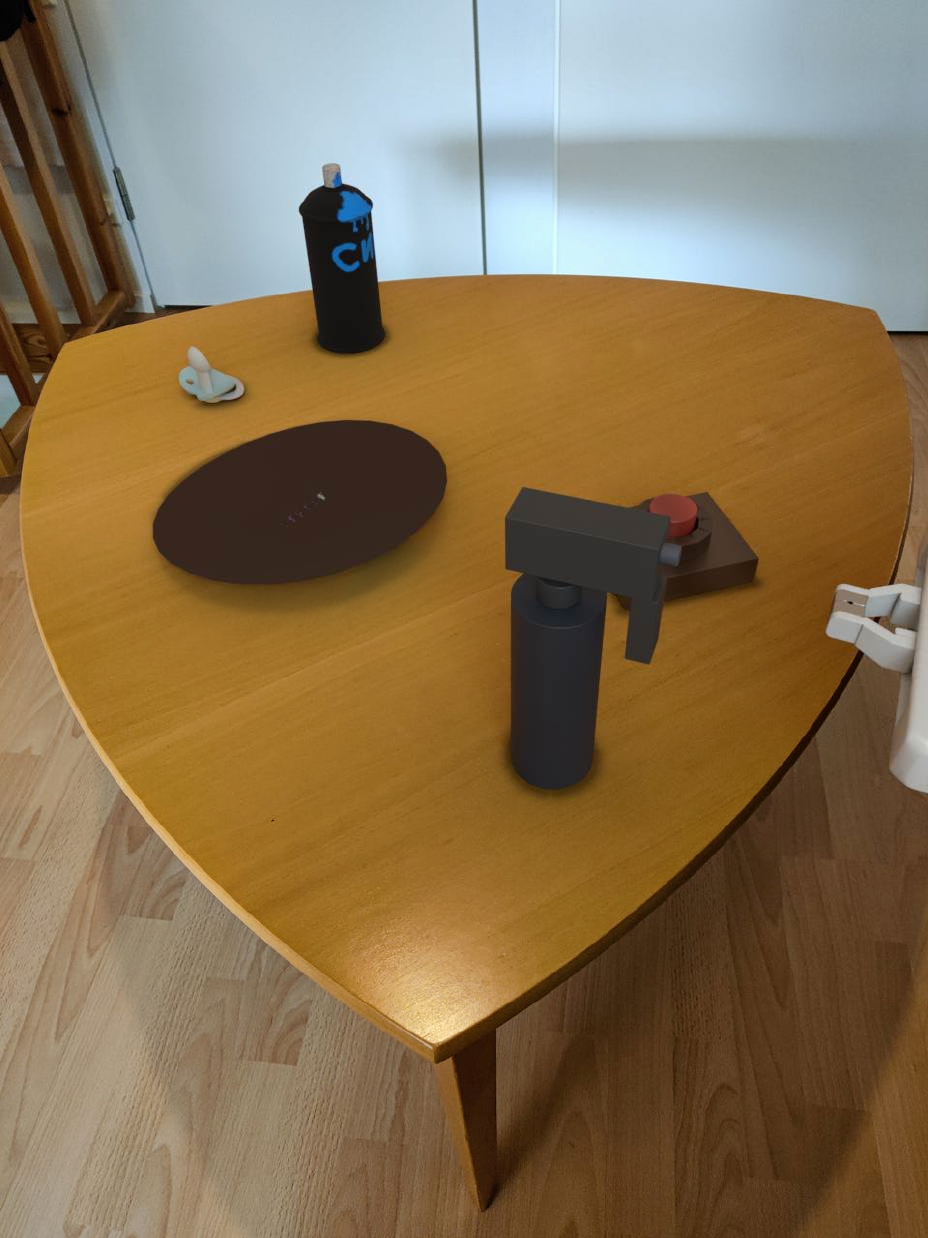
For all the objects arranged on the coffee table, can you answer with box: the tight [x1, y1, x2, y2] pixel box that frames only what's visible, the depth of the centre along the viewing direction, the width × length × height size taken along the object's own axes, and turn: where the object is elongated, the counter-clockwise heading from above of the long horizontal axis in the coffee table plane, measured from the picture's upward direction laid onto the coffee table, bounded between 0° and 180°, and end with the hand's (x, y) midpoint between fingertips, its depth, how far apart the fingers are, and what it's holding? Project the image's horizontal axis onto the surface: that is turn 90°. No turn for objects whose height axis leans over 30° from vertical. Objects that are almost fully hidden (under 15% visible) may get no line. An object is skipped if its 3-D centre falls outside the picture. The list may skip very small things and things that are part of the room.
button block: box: [614, 491, 760, 611], centre depth 87 cm, size 12×10×4 cm
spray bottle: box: [504, 486, 682, 790], centre depth 65 cm, size 10×6×22 cm, turn 69°
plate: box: [152, 419, 448, 585], centre depth 94 cm, size 28×28×4 cm
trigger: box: [624, 577, 667, 665], centre depth 61 cm, size 2×2×5 cm
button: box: [649, 493, 697, 537], centre depth 85 cm, size 4×4×2 cm
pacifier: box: [178, 345, 245, 404], centre depth 110 cm, size 7×6×6 cm
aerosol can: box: [298, 162, 386, 354], centre depth 114 cm, size 8×8×20 cm
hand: (830, 608), depth 59 cm, fingers closed
